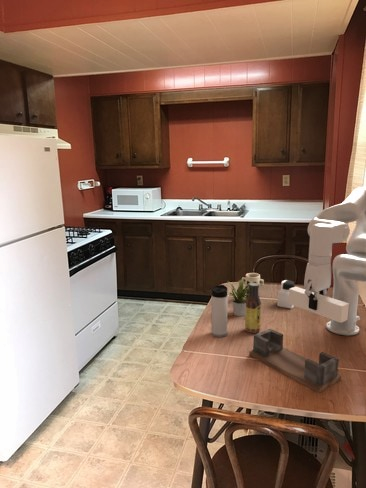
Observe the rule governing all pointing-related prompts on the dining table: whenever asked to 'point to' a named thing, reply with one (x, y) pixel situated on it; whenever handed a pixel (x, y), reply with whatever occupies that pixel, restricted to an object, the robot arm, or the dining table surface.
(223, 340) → the dining table surface
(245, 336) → the dining table surface
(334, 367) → the end cap frame
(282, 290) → the medicine bottle
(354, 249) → the robot arm
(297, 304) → the slat
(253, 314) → the sauce bottle
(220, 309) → the travel mug
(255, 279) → the character mug
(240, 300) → the house plant
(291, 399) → the dining table surface
